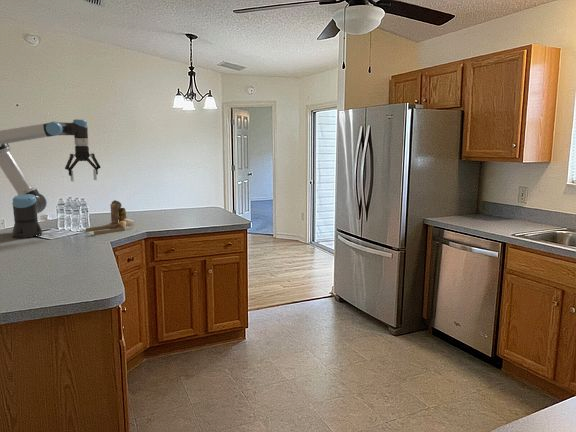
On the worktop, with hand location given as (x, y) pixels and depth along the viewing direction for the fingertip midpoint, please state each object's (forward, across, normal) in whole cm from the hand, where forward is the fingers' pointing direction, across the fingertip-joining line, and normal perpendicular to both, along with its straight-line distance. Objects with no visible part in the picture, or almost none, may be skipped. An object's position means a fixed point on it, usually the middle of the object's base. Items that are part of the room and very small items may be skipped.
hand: (84, 180), depth 271 cm
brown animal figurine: (+31, +20, -2) cm, 37 cm away
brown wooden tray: (+31, +8, -18) cm, 37 cm away
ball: (+27, +15, -18) cm, 36 cm away
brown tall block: (+29, +10, -18) cm, 36 cm away
